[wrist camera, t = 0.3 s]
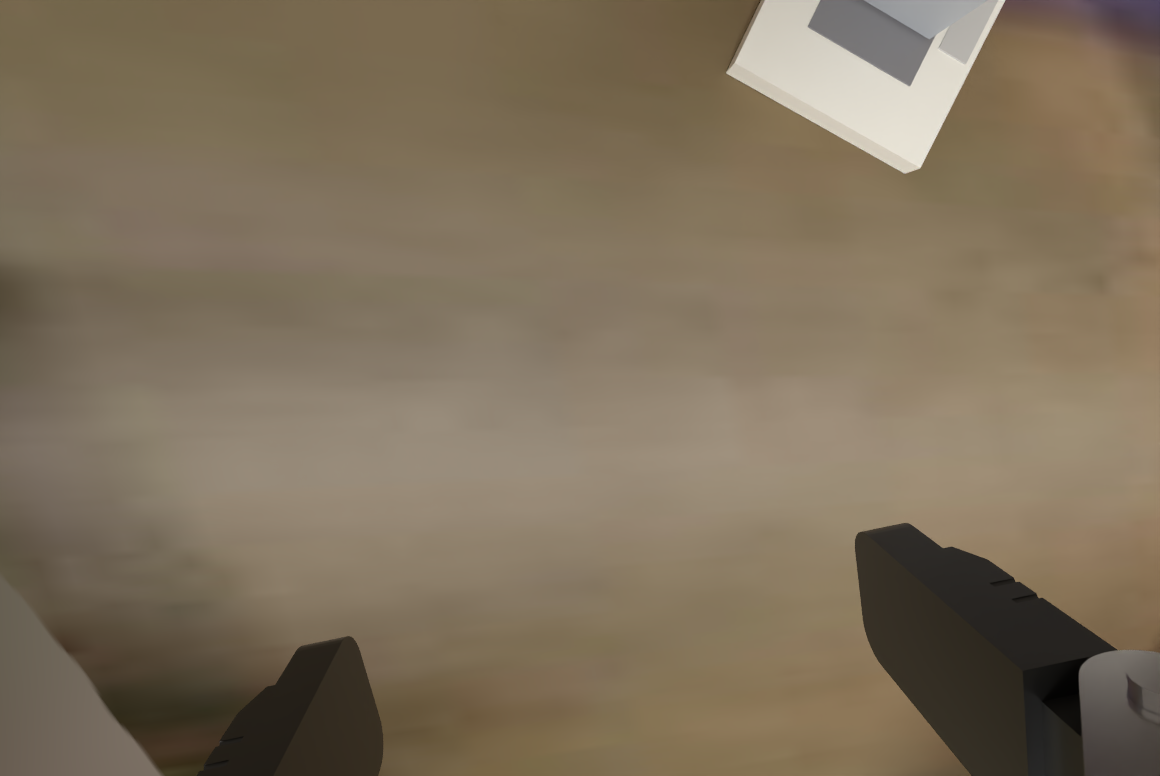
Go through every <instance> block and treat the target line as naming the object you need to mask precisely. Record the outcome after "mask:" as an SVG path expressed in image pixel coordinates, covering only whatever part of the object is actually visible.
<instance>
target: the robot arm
mask: <svg viewBox="0 0 1160 776" xmlns="http://www.w3.org/2000/svg"><path fill="white" fill-rule="evenodd" d="M855 552H856V561H857V570H858V579H859V588H860V597H861V606H862V615H863V622H864V628H865V631H866V635H867V638H868V641H869V643H870V646H871V648H872V650H873V652H874V654H875V656H876V658H877V660H878V661H879V663H880V664H881V665H882V666H883V668H884V669H885V670H886V671H887V673H888V674H889V675H890V676H891V677H892V679H893V680H894V681H895V682H896V684H897V685H898V686H899V687H900V689H901V690H902V691H903V692H904V693H905V695H906V696H907V697H908V698H909V700H910V701H911V702H912V703H913V704H914V706H915V707H916V708H917V709H918V711H919V712H920V713H921V714H922V715H923V717H924V718H925V719H926V720H927V722H928V723H929V724H930V725H931V726H932V728H933V729H934V730H935V731H936V733H937V734H938V735H939V736H940V737H941V739H942V740H943V741H944V742H945V744H946V745H947V746H948V747H949V748H950V750H951V751H952V752H953V753H954V755H955V756H956V757H957V758H958V759H959V761H960V762H961V763H962V764H963V766H964V767H965V768H966V769H967V770H968V772H969V773H970V774H971V775H972V776H1160V653H1157V652H1150V651H1141V650H1117V649H1115V648H1114V647H1113V646H1111V645H1110V644H1108V643H1107V642H1105V641H1104V640H1102V639H1101V638H1100V637H1098V636H1097V635H1095V634H1094V633H1092V632H1091V631H1090V630H1088V629H1087V628H1085V627H1084V626H1082V625H1081V624H1079V623H1078V622H1077V621H1075V620H1074V619H1072V618H1071V617H1069V616H1068V615H1067V614H1065V613H1064V612H1062V611H1061V610H1059V609H1058V608H1056V607H1055V606H1054V605H1052V604H1051V603H1049V602H1048V601H1046V600H1045V599H1043V598H1038V597H1037V594H1036V593H1035V592H1033V591H1032V590H1031V589H1029V588H1028V587H1026V586H1025V585H1023V584H1022V583H1020V582H1015V580H1014V578H1013V577H1012V576H1010V575H1009V574H1008V573H1006V572H1005V571H1003V570H1002V569H1000V568H999V567H997V566H996V565H995V564H993V563H992V562H990V561H989V560H987V559H985V558H982V557H979V556H976V555H973V554H971V553H968V552H965V551H962V550H960V549H957V548H954V547H948V548H942V547H940V546H939V545H938V544H936V543H935V542H934V541H932V540H931V539H930V538H928V537H927V536H926V535H924V534H923V533H922V532H920V531H919V530H918V529H916V528H915V527H914V526H912V525H910V524H908V523H902V524H897V525H892V526H888V527H883V528H878V529H873V530H868V531H863V532H859V533H858V534H857V536H856V539H855ZM382 757H383V733H382V726H381V721H380V717H379V714H378V710H377V707H376V704H375V700H374V697H373V694H372V690H371V687H370V684H369V680H368V677H367V673H366V670H365V667H364V663H363V660H362V657H361V653H360V650H359V647H358V645H357V643H356V641H355V640H354V639H353V638H352V637H350V636H347V637H342V638H338V639H333V640H328V641H323V642H318V643H313V644H308V645H304V646H301V647H299V648H298V649H297V651H296V652H295V654H294V655H293V657H292V659H291V660H290V662H289V663H288V665H287V667H286V668H285V670H284V672H283V673H282V675H281V676H280V678H279V680H278V681H277V683H276V685H273V686H268V687H266V688H265V689H264V690H263V691H262V692H261V693H260V694H259V695H257V696H256V697H255V698H254V699H253V700H252V701H251V702H250V703H249V704H248V705H246V706H245V707H244V708H243V709H242V710H241V711H240V712H239V713H238V714H237V715H236V717H235V718H234V720H233V721H232V723H231V724H230V726H229V728H228V729H227V731H226V732H225V734H224V735H223V737H222V738H221V740H220V746H218V747H215V749H214V750H213V752H212V753H211V755H210V756H209V758H208V759H207V761H206V762H205V764H204V771H200V772H199V773H198V775H197V776H378V774H379V771H380V767H381V763H382Z"/></svg>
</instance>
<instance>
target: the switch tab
mask: <svg viewBox="0 0 1160 776" xmlns="http://www.w3.org/2000/svg"><path fill="white" fill-rule="evenodd" d="M864 1H866V2H868V3H869V4H871V5H873V6H874V7H876V8H878V9H879V10H881V11H883V12H884V13H886V14H888V15H889V16H891V17H893V18H894V19H896V20H898V21H899V22H901V23H903V24H904V25H906V26H908V27H909V28H911V29H913V30H914V31H916V32H918V33H919V34H921V35H923V36H924V37H926V38H928V39H931V38H932V37H934V36H935V35H937V34H938V33H940V32H941V31H943V30H944V29H946V28H947V27H949V26H950V25H952V24H953V23H955V22H956V21H958V20H959V19H960V18H962V17H963V16H965V15H966V14H968V13H969V12H971V11H972V10H974V9H975V8H977V7H978V6H980V5H981V4H983V3H984V2H986V1H987V0H864Z"/></svg>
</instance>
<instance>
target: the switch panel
mask: <svg viewBox="0 0 1160 776" xmlns="http://www.w3.org/2000/svg"><path fill="white" fill-rule="evenodd" d="M1004 2H1005V0H987V1H986V2H984V3H983V4H981V5H980V6H978V7H977V8H975V9H974V10H972V11H971V12H969V13H968V14H966V15H965V16H963V17H962V18H960V19H959V20H958V21H956V22H955V23H953V24H952V25H950V26H949V27H947V28H946V29H944V30H943V31H941V32H940V33H938V34H937V35H935V36H934V37H932V38H931V39H928V38H926V37H924V36H923V35H921V34H919V33H918V32H916V31H914V30H913V29H911V28H909V27H908V26H906V25H904V24H903V23H901V22H899V21H898V20H896V19H894V18H893V17H891V16H889V15H888V14H886V13H884V12H883V11H881V10H879V9H878V8H876V7H874V6H873V5H871V4H869V3H868V2H866V1H864V0H761V1H760V3H759V5H758V7H757V9H756V12H755V14H754V16H753V18H752V20H751V22H750V24H749V26H748V28H747V30H746V32H745V34H744V36H743V38H742V41H741V43H740V45H739V47H738V49H737V51H736V53H735V55H734V57H733V59H732V61H731V63H730V65H729V67H728V70H727V72H726V74H728V75H730V76H732V77H734V78H735V79H737V80H739V81H741V82H743V83H744V84H746V85H748V86H750V87H751V88H753V89H755V90H757V91H759V92H760V93H762V94H764V95H766V96H767V97H769V98H771V99H773V100H775V101H776V102H778V103H780V104H782V105H783V106H785V107H787V108H789V109H791V110H792V111H794V112H796V113H798V114H799V115H801V116H803V117H805V118H807V119H808V120H810V121H812V122H814V123H815V124H817V125H819V126H821V127H823V128H824V129H826V130H828V131H830V132H831V133H833V134H835V135H837V136H839V137H840V138H842V139H844V140H846V141H848V142H849V143H851V144H853V145H855V146H856V147H858V148H860V149H862V150H864V151H865V152H867V153H869V154H871V155H872V156H874V157H876V158H878V159H880V160H881V161H883V162H885V163H887V164H888V165H890V166H892V167H894V168H896V169H897V170H899V171H901V172H903V173H904V174H905V173H908V172H911V171H913V170H916V169H919V168H921V166H922V164H923V162H924V160H925V158H926V156H927V154H928V152H929V150H930V148H931V146H932V144H933V142H934V140H935V138H936V136H937V134H938V132H939V130H940V128H941V126H942V124H943V122H944V120H945V118H946V116H947V114H948V112H949V110H950V108H951V106H952V104H953V102H954V100H955V98H956V97H957V95H958V93H959V91H960V89H961V87H962V85H963V83H964V81H965V79H966V77H967V75H968V73H969V71H970V69H971V67H972V65H973V63H974V61H975V59H976V57H977V55H978V53H979V51H980V49H981V47H982V45H983V43H984V41H985V39H986V37H987V35H988V33H989V31H990V29H991V27H992V25H993V23H994V21H995V19H996V17H997V15H998V13H999V11H1000V9H1001V7H1002V5H1003V3H1004Z"/></svg>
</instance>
